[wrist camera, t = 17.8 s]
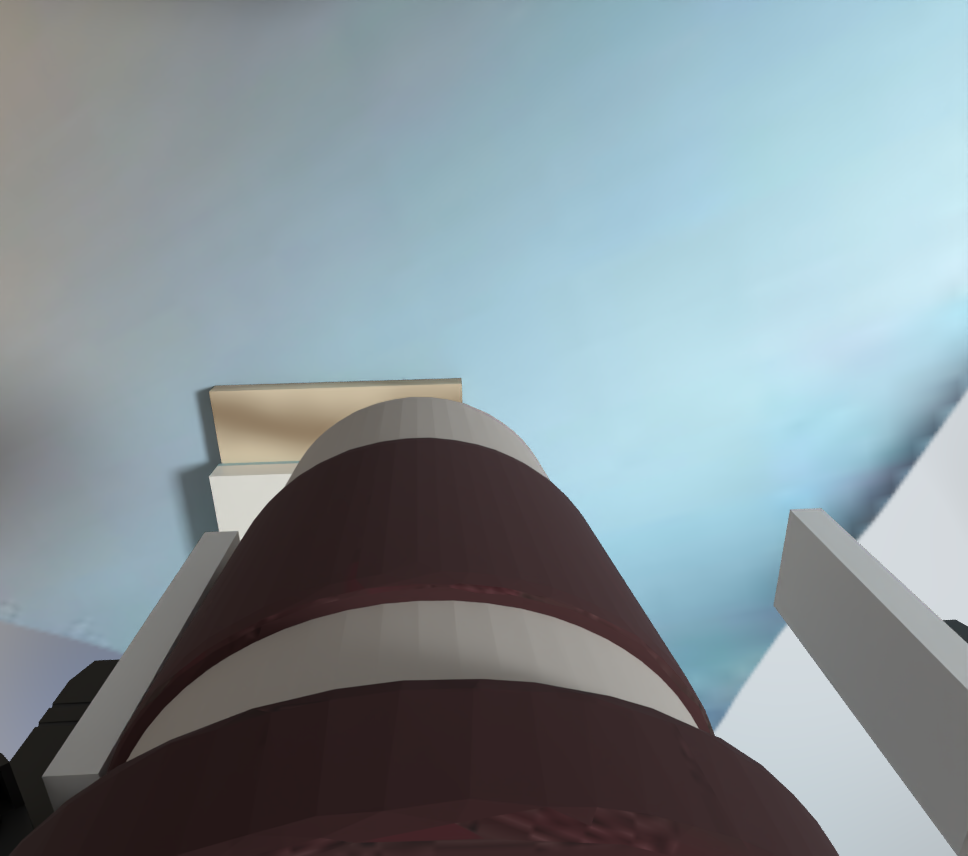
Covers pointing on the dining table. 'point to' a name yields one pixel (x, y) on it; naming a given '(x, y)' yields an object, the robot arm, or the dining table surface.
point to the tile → (246, 491)
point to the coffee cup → (424, 681)
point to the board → (301, 413)
